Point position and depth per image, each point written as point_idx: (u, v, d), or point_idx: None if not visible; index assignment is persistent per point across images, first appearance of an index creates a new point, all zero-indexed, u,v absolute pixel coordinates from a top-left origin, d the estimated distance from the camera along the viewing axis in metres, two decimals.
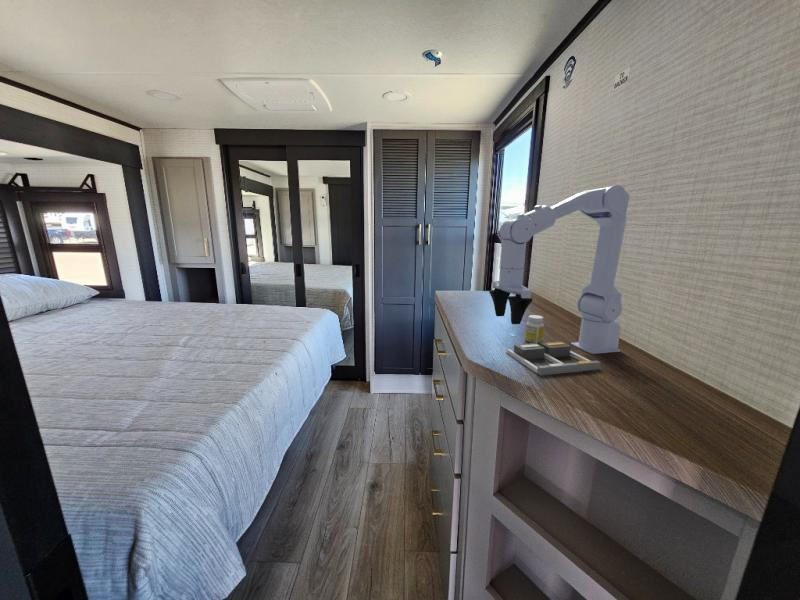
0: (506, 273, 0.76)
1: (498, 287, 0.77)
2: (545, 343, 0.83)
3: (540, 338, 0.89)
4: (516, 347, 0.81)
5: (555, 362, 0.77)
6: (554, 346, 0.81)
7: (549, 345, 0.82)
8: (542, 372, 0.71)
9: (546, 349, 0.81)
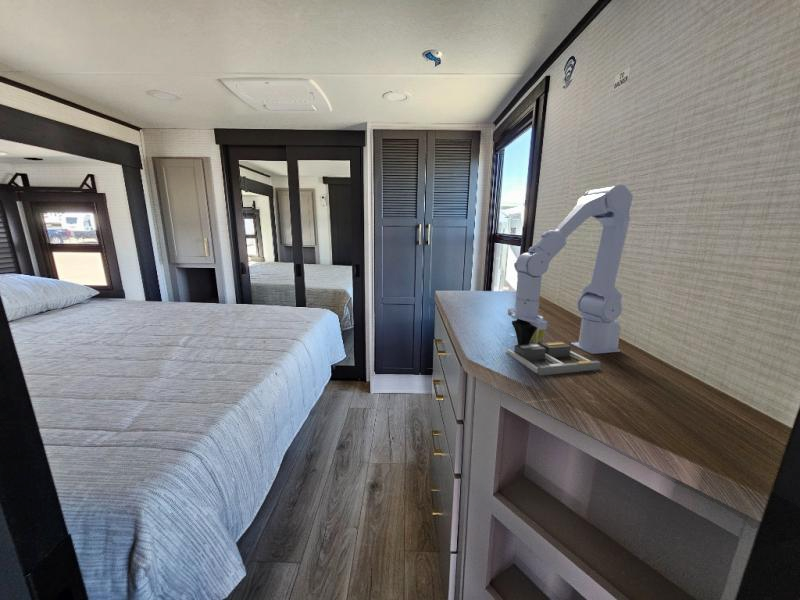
0: (522, 304, 0.79)
1: (514, 317, 0.80)
2: (545, 343, 0.83)
3: (540, 338, 0.89)
4: (516, 347, 0.81)
5: (555, 362, 0.77)
6: (554, 346, 0.81)
7: (549, 345, 0.82)
8: (542, 372, 0.71)
9: (546, 349, 0.81)
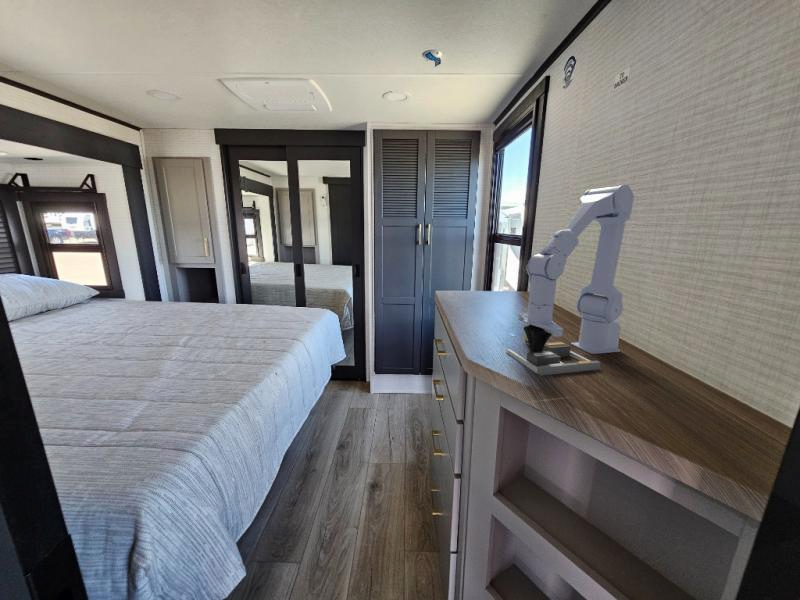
0: (536, 309, 0.74)
1: (527, 323, 0.75)
2: (545, 343, 0.83)
3: None
4: (529, 355, 0.76)
5: None
6: (554, 346, 0.81)
7: (549, 345, 0.82)
8: (542, 372, 0.71)
9: (546, 349, 0.81)
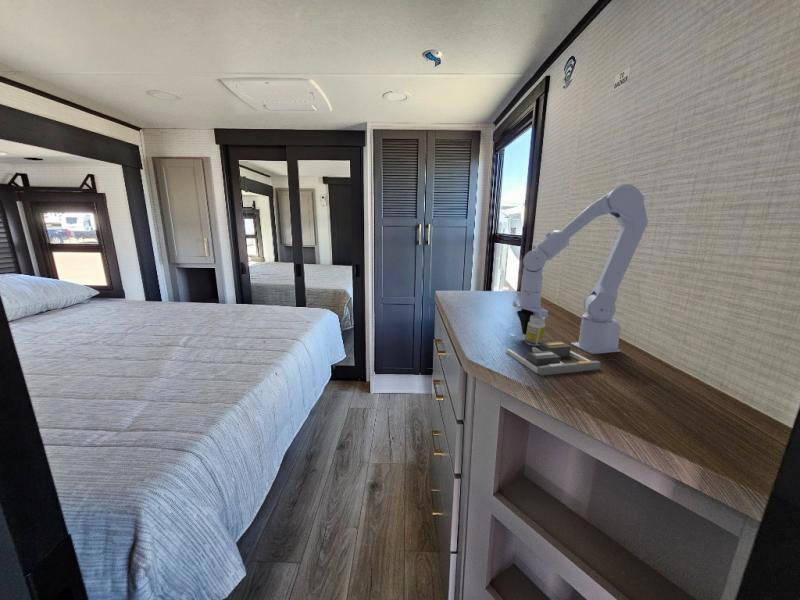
0: (526, 295, 0.90)
1: (519, 307, 0.91)
2: (545, 343, 0.83)
3: (541, 338, 0.89)
4: (529, 355, 0.76)
5: None
6: (554, 346, 0.81)
7: (549, 345, 0.82)
8: (542, 372, 0.71)
9: (546, 349, 0.81)
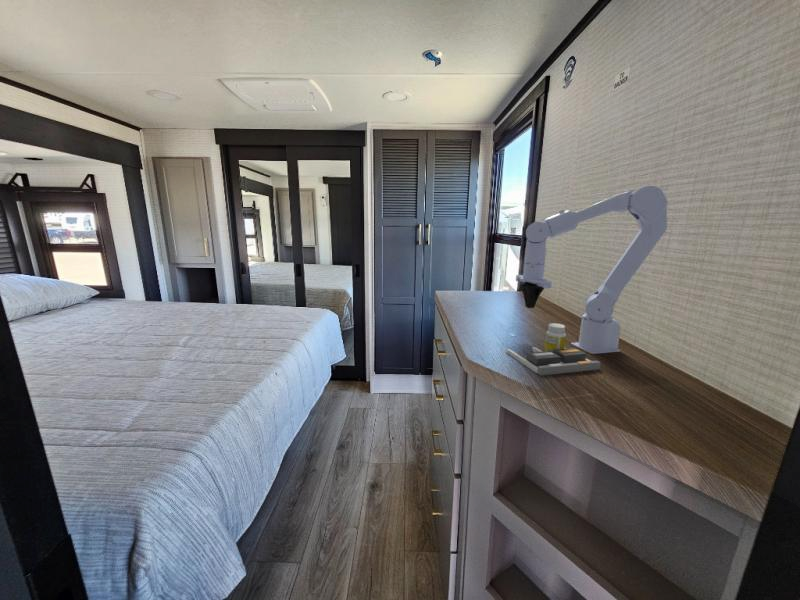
0: (530, 268, 0.90)
1: (523, 279, 0.91)
2: (559, 350, 0.78)
3: None
4: (529, 355, 0.76)
5: None
6: (569, 353, 0.76)
7: (563, 352, 0.77)
8: (542, 372, 0.71)
9: None
